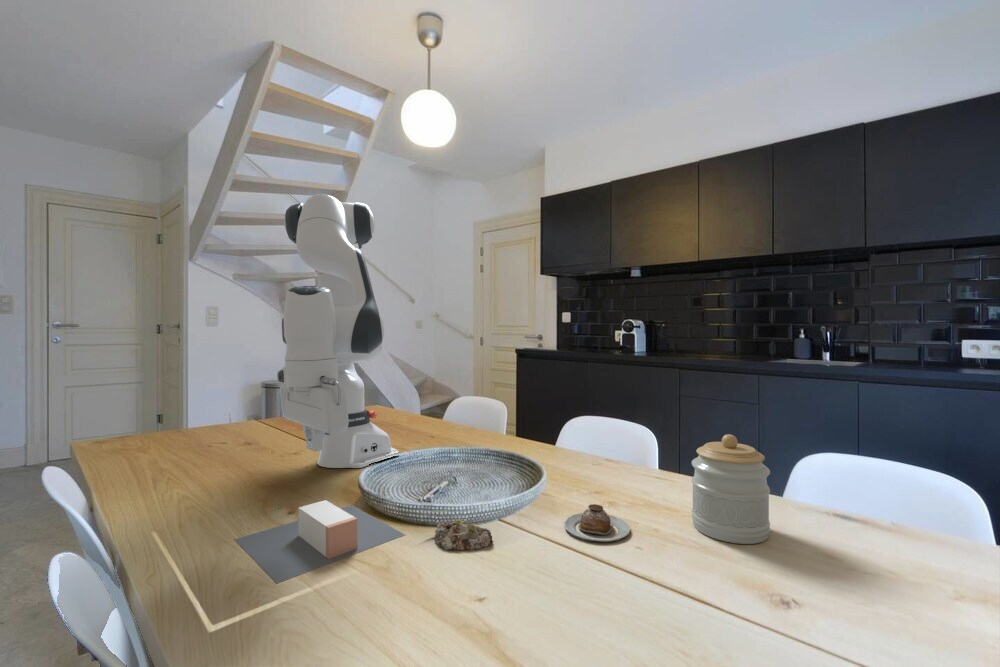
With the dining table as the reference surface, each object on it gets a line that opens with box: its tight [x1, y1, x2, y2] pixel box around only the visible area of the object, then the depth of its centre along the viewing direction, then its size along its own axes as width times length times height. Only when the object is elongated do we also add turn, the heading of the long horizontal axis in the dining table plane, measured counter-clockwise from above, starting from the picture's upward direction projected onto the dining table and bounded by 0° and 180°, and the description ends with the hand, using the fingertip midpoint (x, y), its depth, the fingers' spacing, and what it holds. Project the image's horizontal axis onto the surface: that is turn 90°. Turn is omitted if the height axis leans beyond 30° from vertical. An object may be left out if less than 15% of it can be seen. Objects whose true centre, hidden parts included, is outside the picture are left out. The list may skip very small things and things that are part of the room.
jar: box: [691, 433, 771, 545], centre depth 85 cm, size 13×13×18 cm
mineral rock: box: [434, 518, 494, 551], centre depth 81 cm, size 11×4×8 cm
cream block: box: [297, 499, 358, 559], centre depth 80 cm, size 5×5×12 cm
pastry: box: [563, 504, 631, 543], centre depth 86 cm, size 12×12×5 cm
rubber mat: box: [234, 504, 406, 584], centre depth 81 cm, size 22×20×1 cm
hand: (314, 449), depth 85 cm, fingers closed
